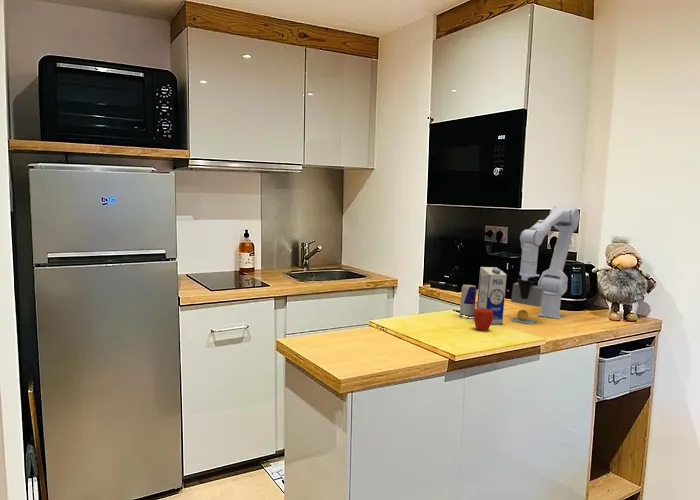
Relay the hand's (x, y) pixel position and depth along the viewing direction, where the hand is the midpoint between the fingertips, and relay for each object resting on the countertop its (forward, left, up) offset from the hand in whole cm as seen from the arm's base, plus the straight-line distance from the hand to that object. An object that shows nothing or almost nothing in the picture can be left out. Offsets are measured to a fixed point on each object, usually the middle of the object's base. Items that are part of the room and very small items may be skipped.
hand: (525, 297), depth 196 cm
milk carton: (+13, -10, -9) cm, 19 cm away
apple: (+27, -9, -9) cm, 30 cm away
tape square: (0, 0, -9) cm, 9 cm away
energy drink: (+10, -19, -9) cm, 23 cm away
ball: (0, 0, -7) cm, 7 cm away
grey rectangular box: (0, 0, -2) cm, 2 cm away
